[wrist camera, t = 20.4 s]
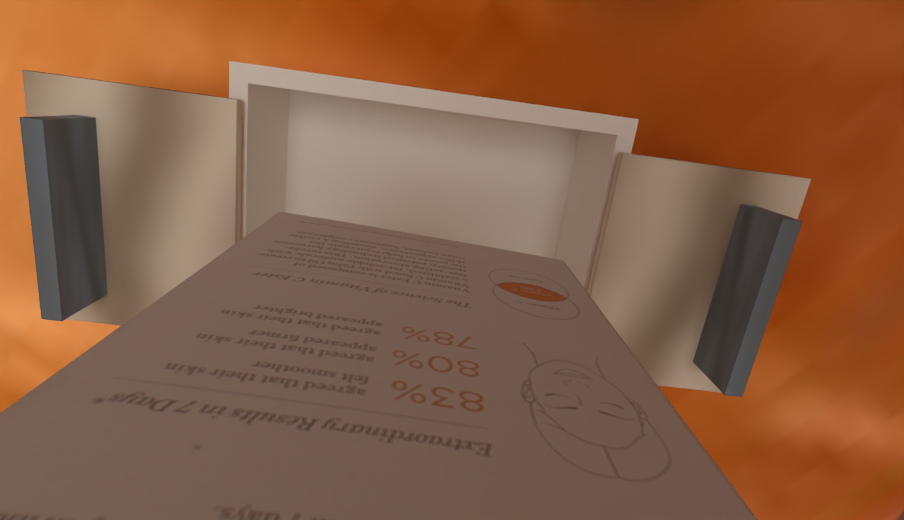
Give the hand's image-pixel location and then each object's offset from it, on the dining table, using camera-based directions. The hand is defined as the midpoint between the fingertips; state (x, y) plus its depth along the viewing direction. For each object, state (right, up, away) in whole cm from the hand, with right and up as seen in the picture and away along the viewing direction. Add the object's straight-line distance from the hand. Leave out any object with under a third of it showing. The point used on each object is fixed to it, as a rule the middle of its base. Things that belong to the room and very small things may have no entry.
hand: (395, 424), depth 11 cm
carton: (0, +6, +20) cm, 21 cm away
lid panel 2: (+12, +3, +14) cm, 19 cm away
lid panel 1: (-13, +6, +12) cm, 19 cm away
